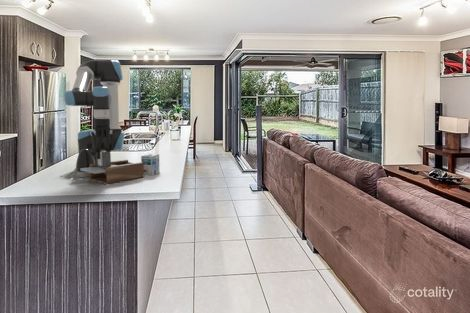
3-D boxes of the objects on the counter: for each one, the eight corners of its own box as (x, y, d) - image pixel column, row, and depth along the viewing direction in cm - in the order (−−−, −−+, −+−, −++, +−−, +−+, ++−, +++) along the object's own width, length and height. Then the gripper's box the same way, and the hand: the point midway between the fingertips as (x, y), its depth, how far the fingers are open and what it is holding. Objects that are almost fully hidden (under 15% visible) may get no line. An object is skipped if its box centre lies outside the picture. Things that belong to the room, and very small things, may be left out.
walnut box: (89, 180, 201) (89, 164, 200) (125, 174, 218) (125, 159, 216) (107, 184, 191) (106, 167, 190) (143, 178, 208) (143, 162, 207)
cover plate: (80, 170, 195) (79, 152, 193) (111, 166, 208) (111, 149, 207) (95, 173, 186) (94, 155, 185) (126, 168, 200) (126, 151, 199)
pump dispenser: (100, 175, 213) (99, 148, 211) (87, 179, 204) (86, 150, 201) (85, 174, 217) (84, 147, 214) (71, 177, 207) (70, 149, 205)
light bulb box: (152, 175, 215) (152, 156, 214) (141, 175, 217) (140, 155, 215) (160, 172, 226) (159, 153, 224) (149, 171, 227) (148, 153, 226)
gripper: (91, 118, 185) (93, 167, 188) (120, 118, 198) (121, 163, 201) (82, 118, 190) (84, 166, 193) (111, 117, 202) (113, 162, 206)
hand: (103, 164), depth 197 cm, fingers closed on cover plate, 3 cm apart
